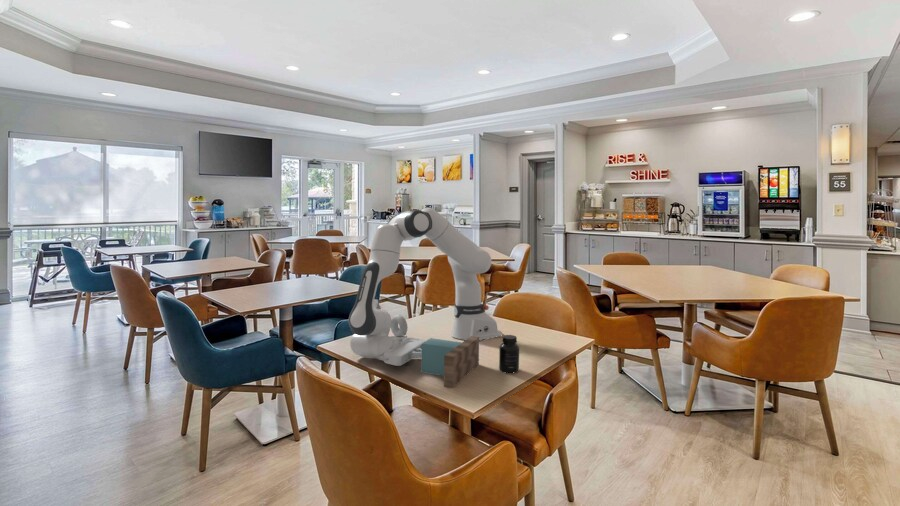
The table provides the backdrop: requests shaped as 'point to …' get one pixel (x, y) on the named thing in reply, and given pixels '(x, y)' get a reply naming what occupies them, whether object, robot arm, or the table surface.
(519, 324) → the table surface
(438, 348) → the teal block
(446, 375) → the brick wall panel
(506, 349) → the supplement bottle
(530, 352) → the table surface
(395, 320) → the donut
